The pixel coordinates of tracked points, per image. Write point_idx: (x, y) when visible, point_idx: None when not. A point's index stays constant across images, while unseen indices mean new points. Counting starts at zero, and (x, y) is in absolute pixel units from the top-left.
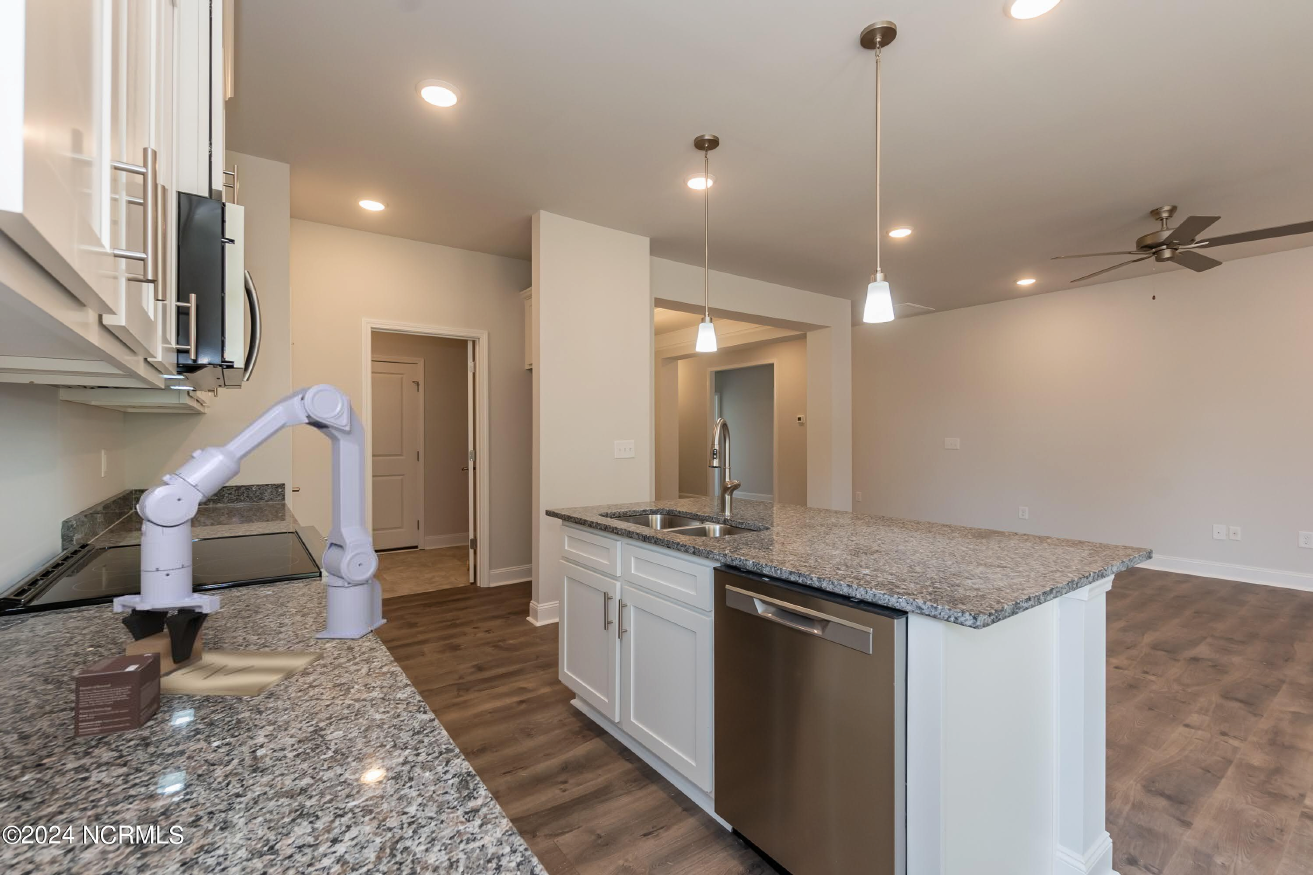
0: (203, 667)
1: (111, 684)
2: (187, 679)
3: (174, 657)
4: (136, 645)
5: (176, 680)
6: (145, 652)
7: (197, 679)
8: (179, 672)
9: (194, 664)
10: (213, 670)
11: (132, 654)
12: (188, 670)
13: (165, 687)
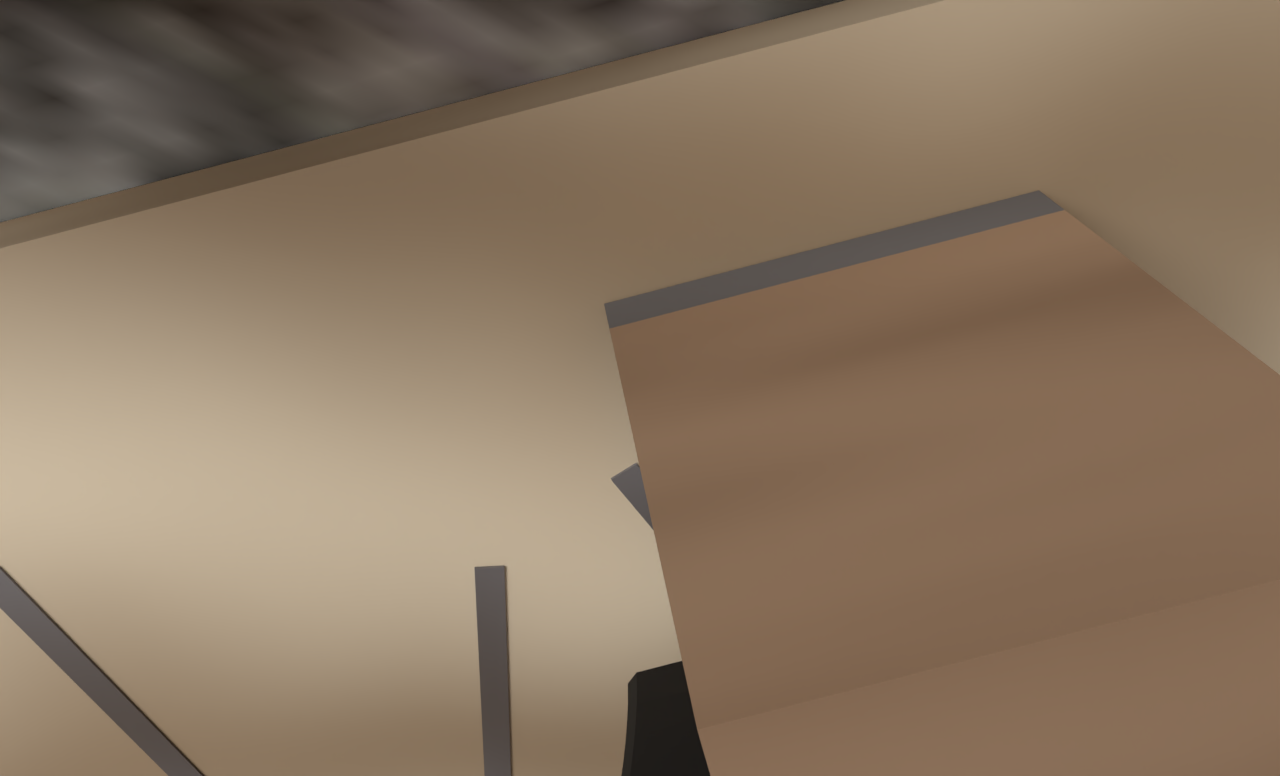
0: (484, 761)
1: None
2: (210, 502)
3: (662, 724)
4: (1162, 600)
5: (325, 436)
6: (849, 547)
7: (73, 544)
8: (608, 594)
9: None
10: (249, 755)
11: (1142, 436)
12: (563, 661)
13: (158, 229)
